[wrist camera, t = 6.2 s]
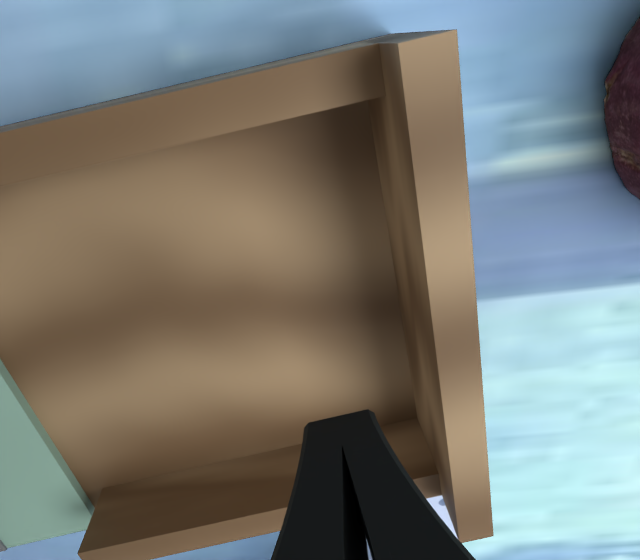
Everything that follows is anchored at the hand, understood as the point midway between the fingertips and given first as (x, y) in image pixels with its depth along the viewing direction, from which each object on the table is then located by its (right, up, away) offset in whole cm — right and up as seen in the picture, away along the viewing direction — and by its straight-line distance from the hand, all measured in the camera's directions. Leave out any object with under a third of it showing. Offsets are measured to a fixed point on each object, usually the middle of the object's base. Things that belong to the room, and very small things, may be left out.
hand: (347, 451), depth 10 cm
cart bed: (-4, +2, +9) cm, 10 cm away
